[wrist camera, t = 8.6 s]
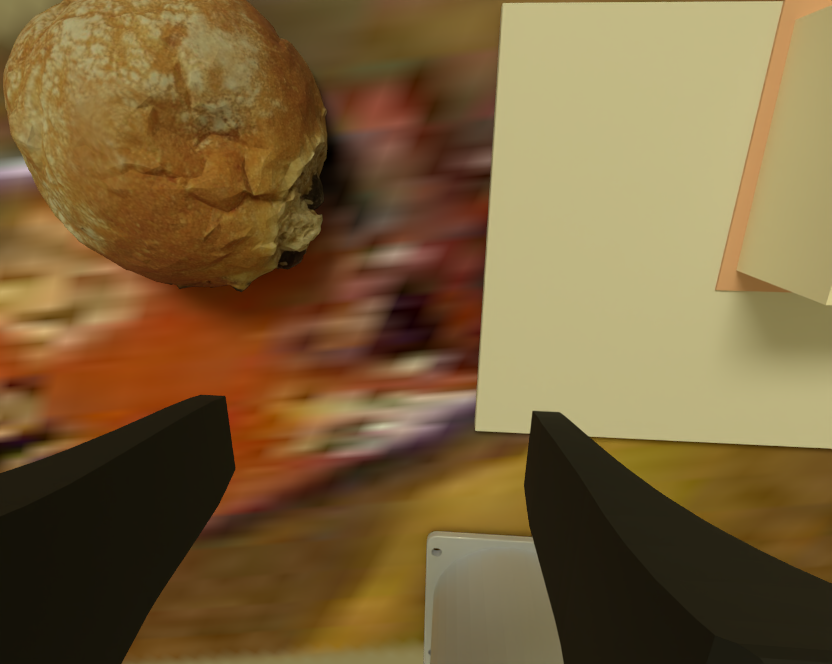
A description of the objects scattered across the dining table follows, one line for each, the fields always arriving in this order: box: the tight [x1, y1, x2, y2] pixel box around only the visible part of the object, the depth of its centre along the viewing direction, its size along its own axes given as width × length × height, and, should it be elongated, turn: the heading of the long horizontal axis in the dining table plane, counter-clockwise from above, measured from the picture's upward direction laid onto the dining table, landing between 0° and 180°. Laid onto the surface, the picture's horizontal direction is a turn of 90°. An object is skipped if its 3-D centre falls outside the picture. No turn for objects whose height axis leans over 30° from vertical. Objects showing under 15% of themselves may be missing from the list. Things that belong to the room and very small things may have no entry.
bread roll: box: [3, 0, 327, 292], centre depth 16 cm, size 10×10×8 cm
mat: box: [475, 0, 832, 449], centre depth 18 cm, size 16×16×1 cm
